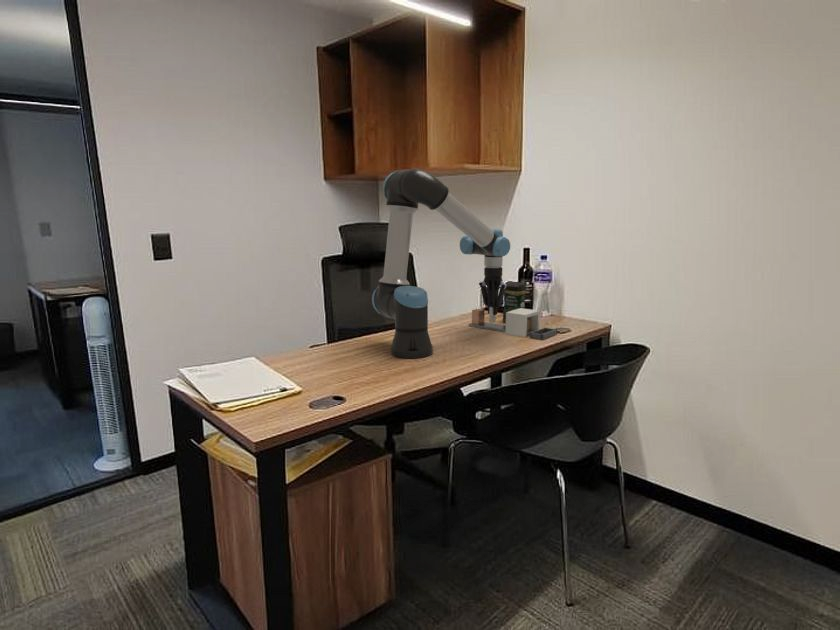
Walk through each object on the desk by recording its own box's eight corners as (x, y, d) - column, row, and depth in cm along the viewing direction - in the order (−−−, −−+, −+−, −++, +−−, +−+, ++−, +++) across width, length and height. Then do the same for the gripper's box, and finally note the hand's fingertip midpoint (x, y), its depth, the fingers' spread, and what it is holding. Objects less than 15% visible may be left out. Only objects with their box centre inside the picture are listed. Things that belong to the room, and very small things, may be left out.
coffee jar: (499, 323, 231) (500, 282, 228) (509, 320, 237) (510, 280, 234) (518, 326, 225) (519, 283, 221) (527, 323, 231) (529, 281, 227)
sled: (525, 335, 207) (526, 318, 205) (468, 326, 225) (468, 310, 224) (534, 332, 212) (534, 315, 211) (477, 323, 230) (478, 307, 229)
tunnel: (525, 337, 205) (525, 315, 203) (505, 334, 210) (505, 312, 209) (539, 332, 213) (539, 310, 211) (519, 329, 219) (520, 308, 217)
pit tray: (542, 341, 199) (542, 335, 199) (529, 338, 203) (529, 332, 202) (556, 335, 208) (557, 329, 208) (544, 333, 212) (544, 327, 211)
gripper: (511, 266, 214) (510, 322, 219) (485, 265, 223) (484, 318, 228) (501, 268, 209) (500, 325, 214) (475, 266, 217) (474, 321, 222)
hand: (492, 321), depth 221 cm, fingers closed
